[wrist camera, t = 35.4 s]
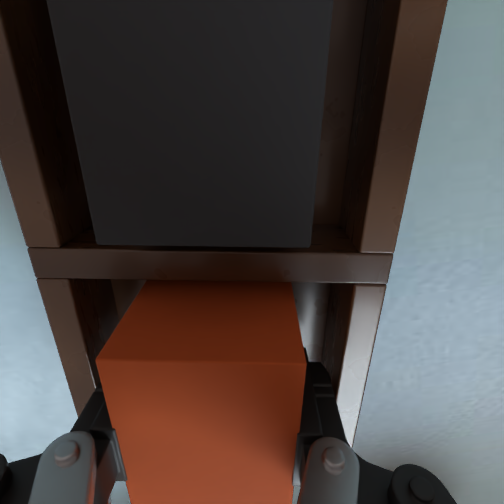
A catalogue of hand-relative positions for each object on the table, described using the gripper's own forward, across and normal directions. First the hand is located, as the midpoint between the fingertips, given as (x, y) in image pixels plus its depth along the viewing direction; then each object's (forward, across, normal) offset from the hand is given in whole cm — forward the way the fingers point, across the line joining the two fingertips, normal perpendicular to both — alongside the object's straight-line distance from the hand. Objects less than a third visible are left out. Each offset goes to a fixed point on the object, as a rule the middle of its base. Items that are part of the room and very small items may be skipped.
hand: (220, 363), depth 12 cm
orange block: (0, 0, 0) cm, 0 cm away
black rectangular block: (+1, 0, -9) cm, 10 cm away
